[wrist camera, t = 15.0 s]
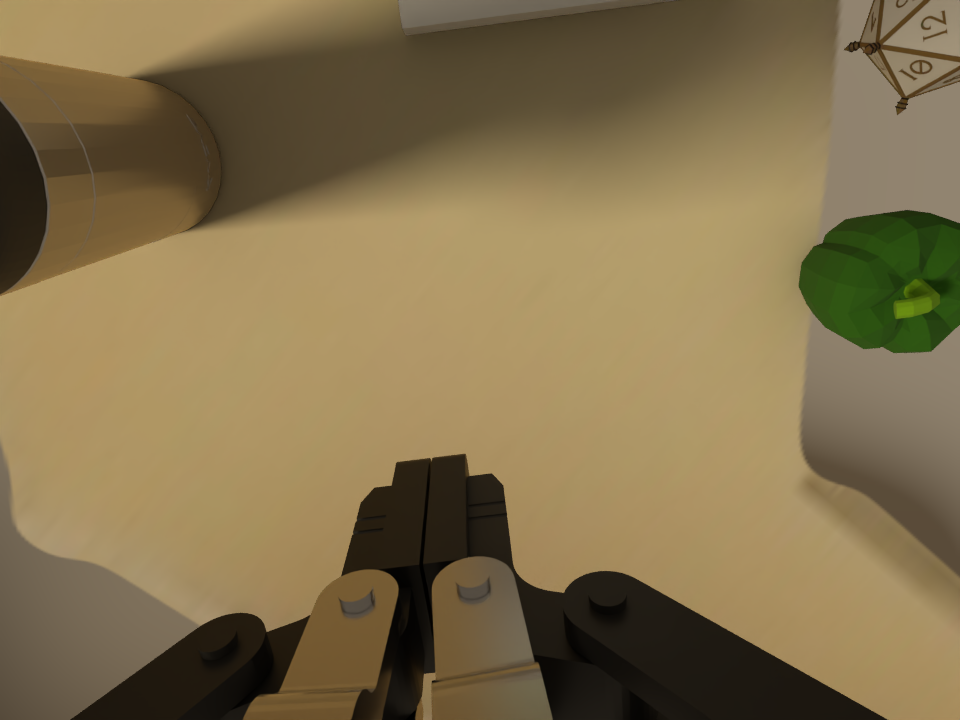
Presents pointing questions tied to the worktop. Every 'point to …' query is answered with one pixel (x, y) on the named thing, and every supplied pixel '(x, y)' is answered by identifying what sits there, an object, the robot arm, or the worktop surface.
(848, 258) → the bell pepper
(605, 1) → the board
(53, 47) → the worktop surface
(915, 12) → the game die
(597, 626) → the robot arm
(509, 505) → the worktop surface
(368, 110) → the worktop surface
